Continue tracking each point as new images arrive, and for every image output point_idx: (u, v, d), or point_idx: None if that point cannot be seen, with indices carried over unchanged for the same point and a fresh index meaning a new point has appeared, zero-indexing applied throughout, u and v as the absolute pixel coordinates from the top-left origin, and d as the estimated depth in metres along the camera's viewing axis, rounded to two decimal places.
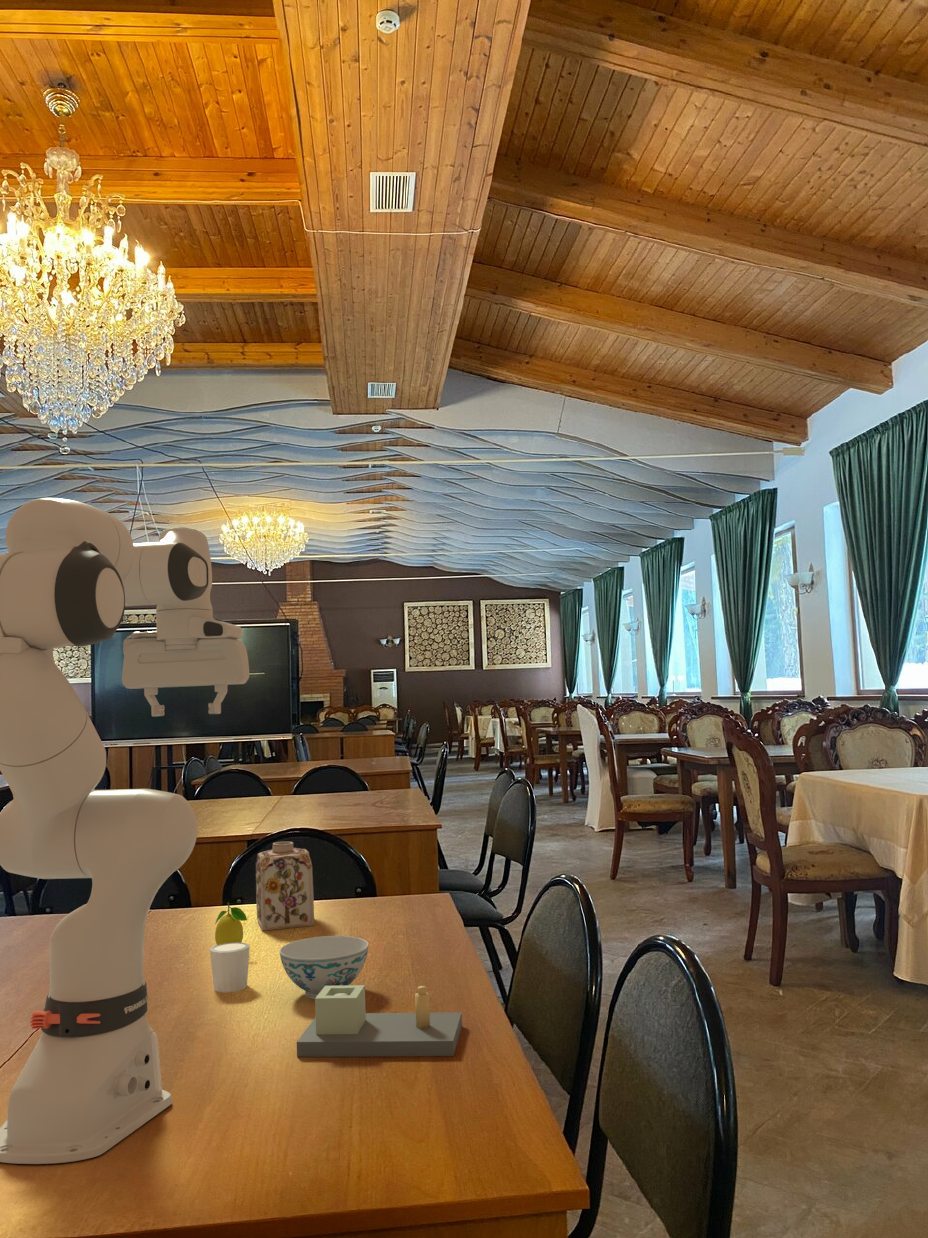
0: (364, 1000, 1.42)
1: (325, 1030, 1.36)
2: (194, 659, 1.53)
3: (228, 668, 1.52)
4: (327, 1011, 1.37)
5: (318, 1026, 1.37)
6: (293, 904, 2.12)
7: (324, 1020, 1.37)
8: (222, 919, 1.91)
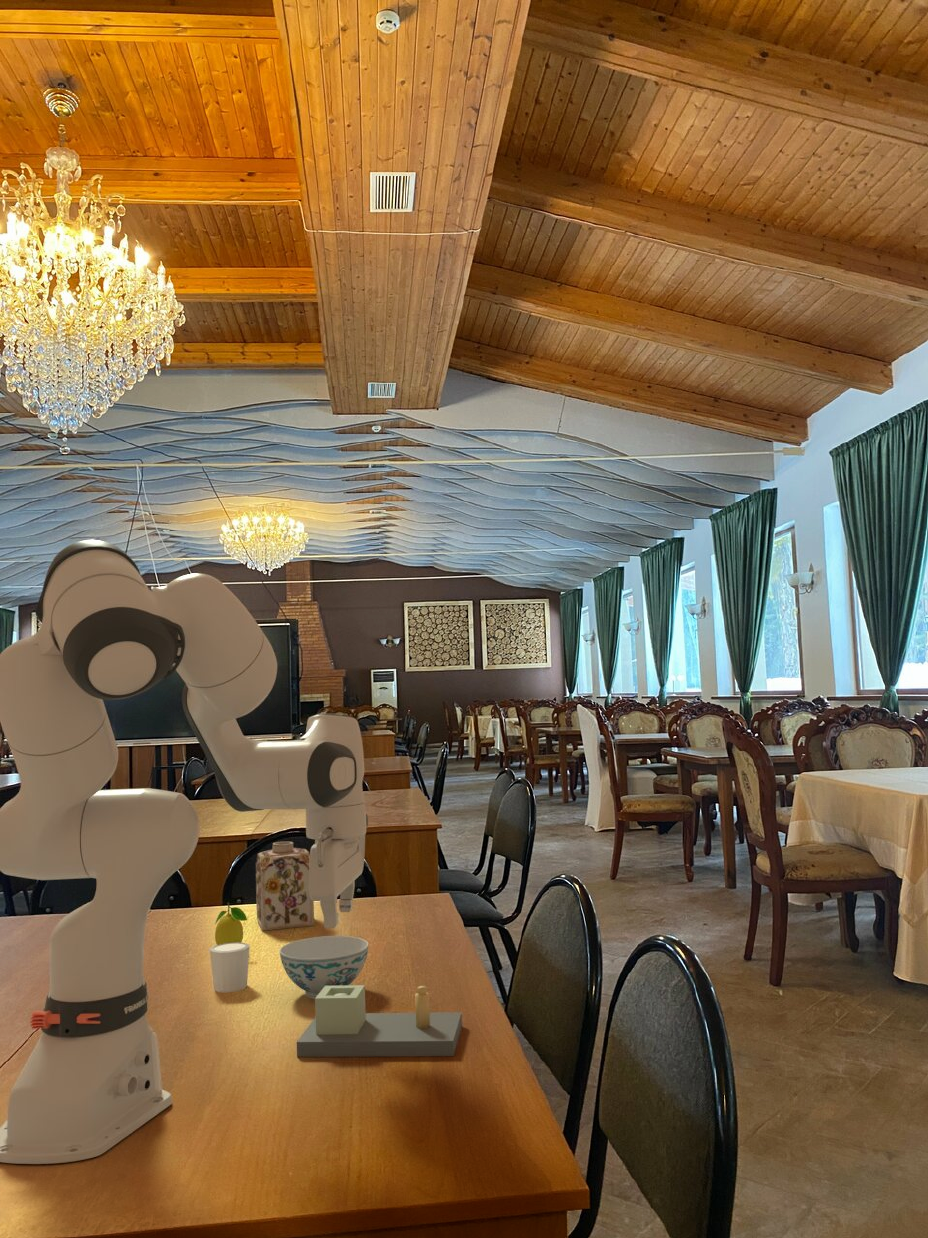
0: (364, 1000, 1.42)
1: (325, 1030, 1.36)
2: (350, 855, 1.43)
3: (360, 860, 1.49)
4: (327, 1011, 1.37)
5: (318, 1026, 1.37)
6: (293, 904, 2.12)
7: (324, 1020, 1.37)
8: (222, 919, 1.91)
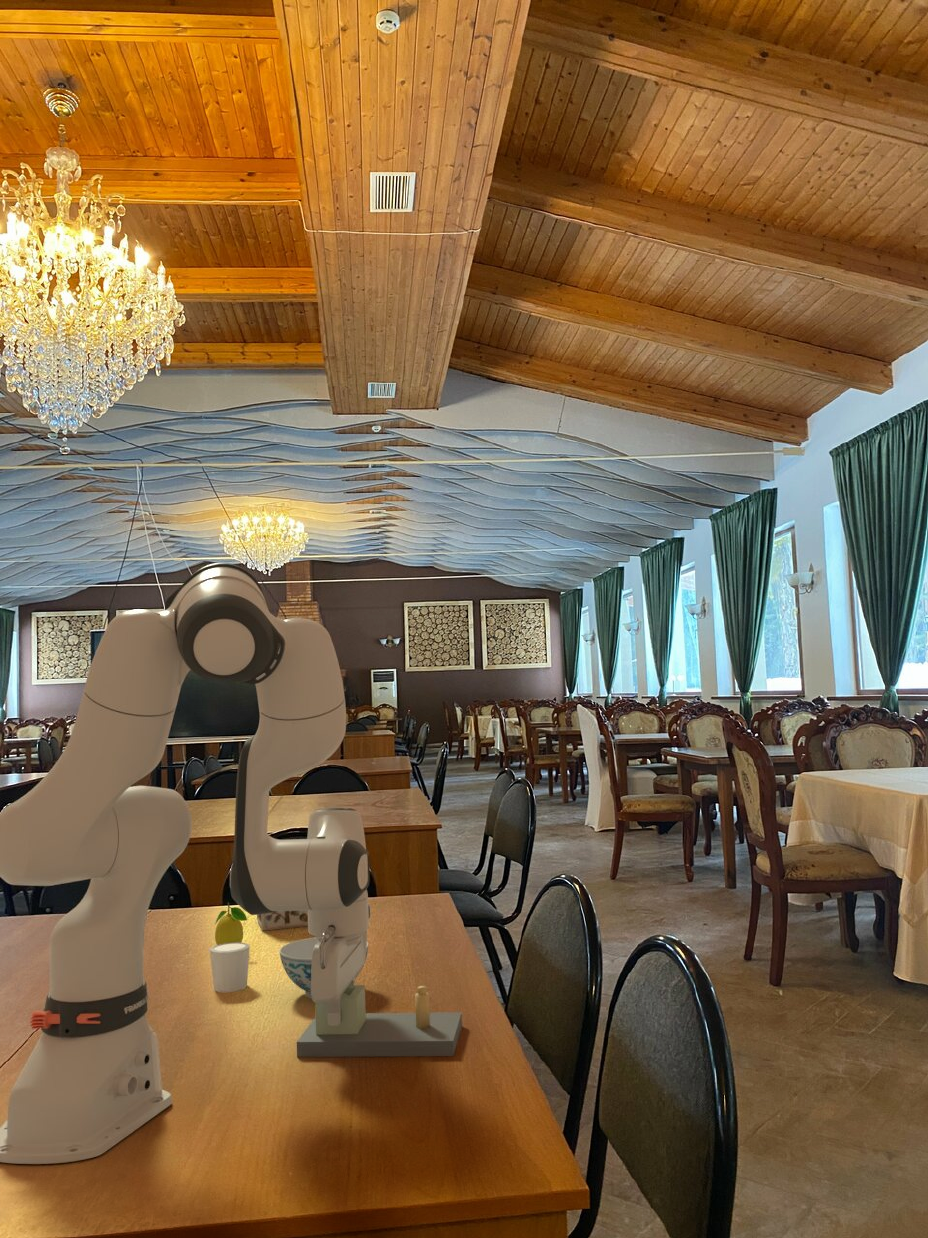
0: (364, 1000, 1.42)
1: (325, 1030, 1.36)
2: (352, 949, 1.42)
3: (362, 951, 1.47)
4: None
5: (318, 1026, 1.37)
6: None
7: (324, 1020, 1.37)
8: (222, 919, 1.91)
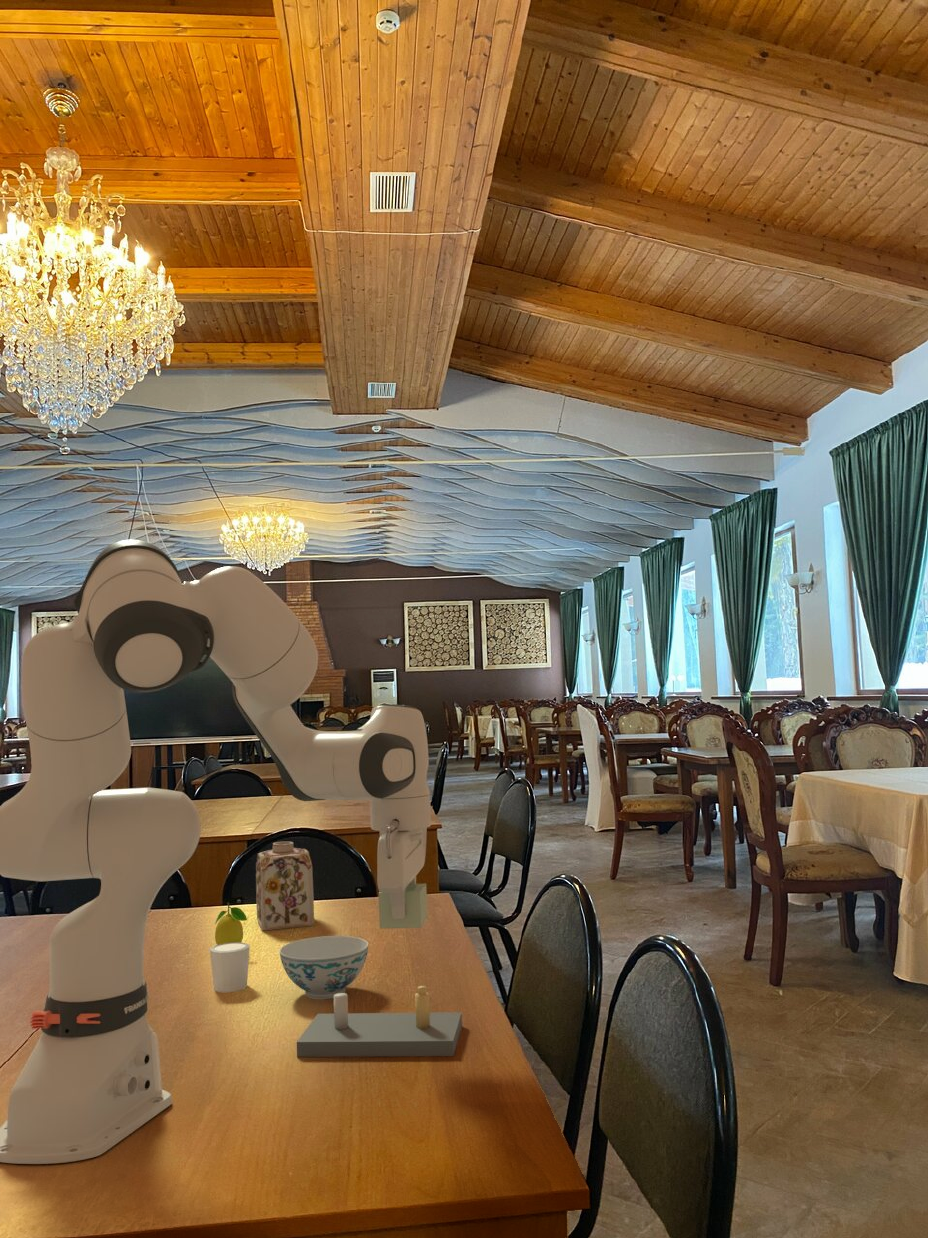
0: (426, 898, 1.41)
1: (389, 924, 1.36)
2: (414, 847, 1.42)
3: (422, 852, 1.47)
4: (391, 905, 1.36)
5: (382, 920, 1.36)
6: (293, 904, 2.12)
7: (388, 914, 1.36)
8: (222, 919, 1.91)
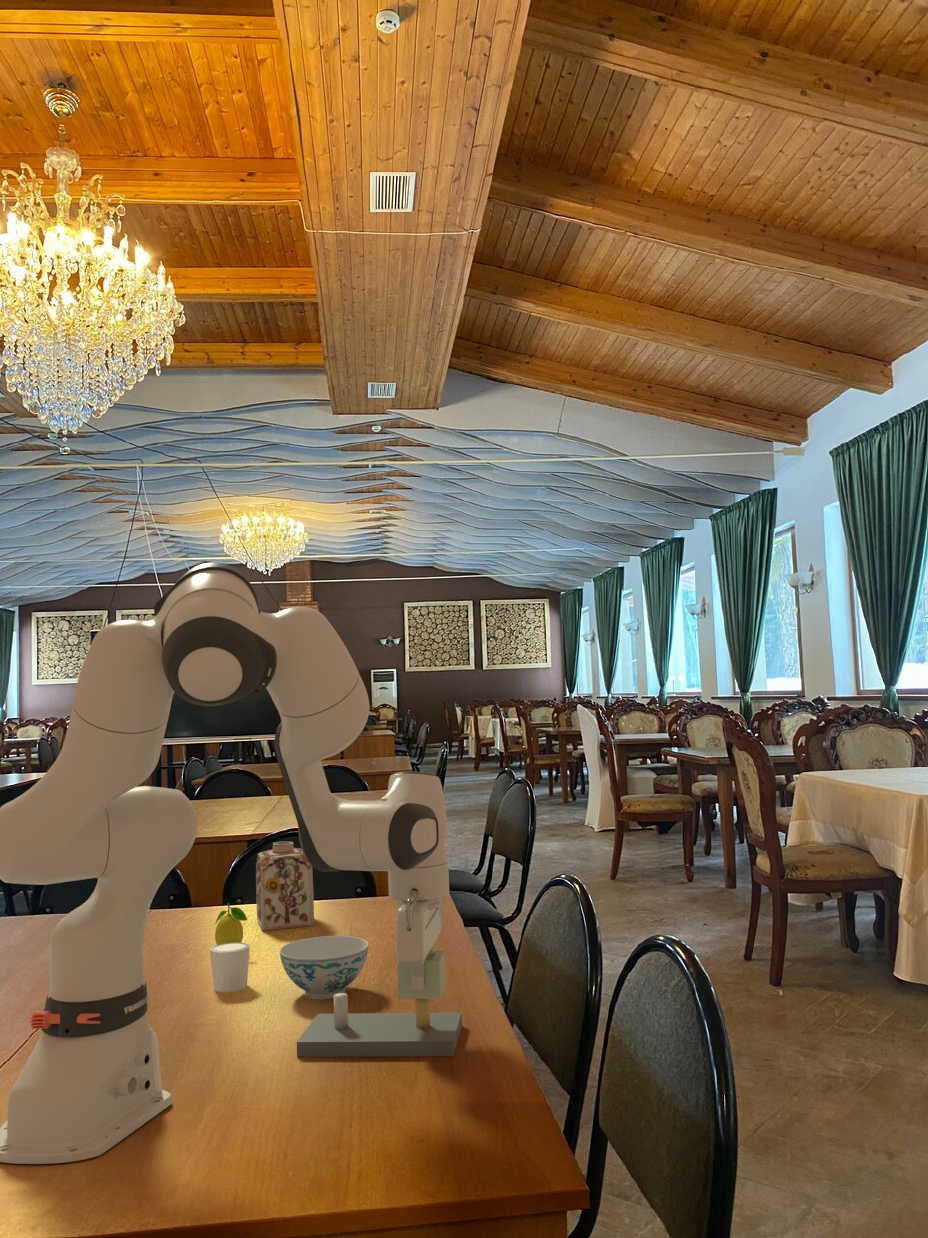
0: (444, 966, 1.41)
1: (408, 994, 1.35)
2: (432, 914, 1.41)
3: (439, 918, 1.46)
4: (409, 975, 1.36)
5: (400, 990, 1.36)
6: (293, 904, 2.12)
7: (407, 984, 1.36)
8: (222, 919, 1.91)
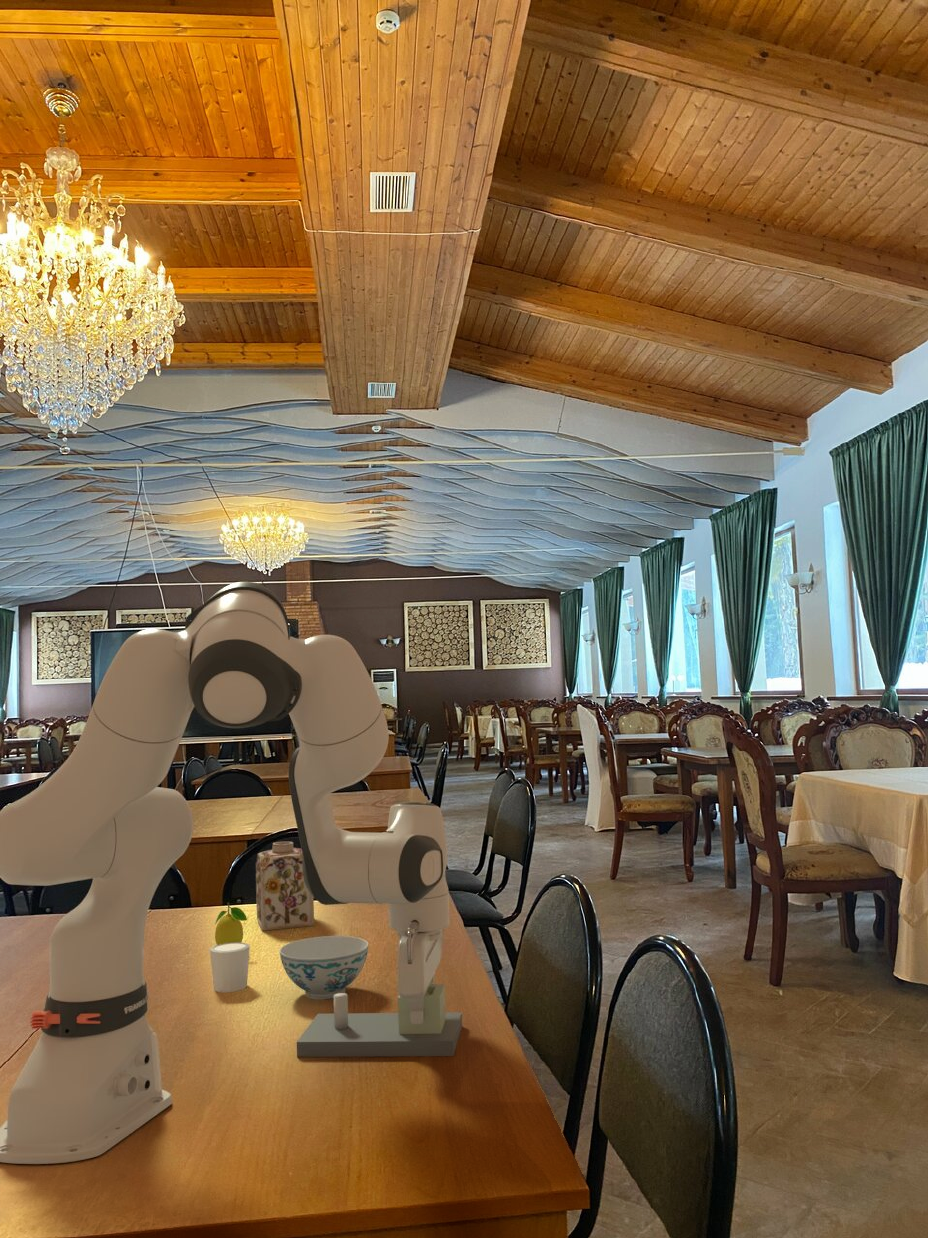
0: (444, 999, 1.41)
1: (408, 1029, 1.35)
2: (432, 945, 1.41)
3: (439, 947, 1.46)
4: None
5: (401, 1025, 1.35)
6: (293, 904, 2.12)
7: (407, 1019, 1.35)
8: (222, 919, 1.91)
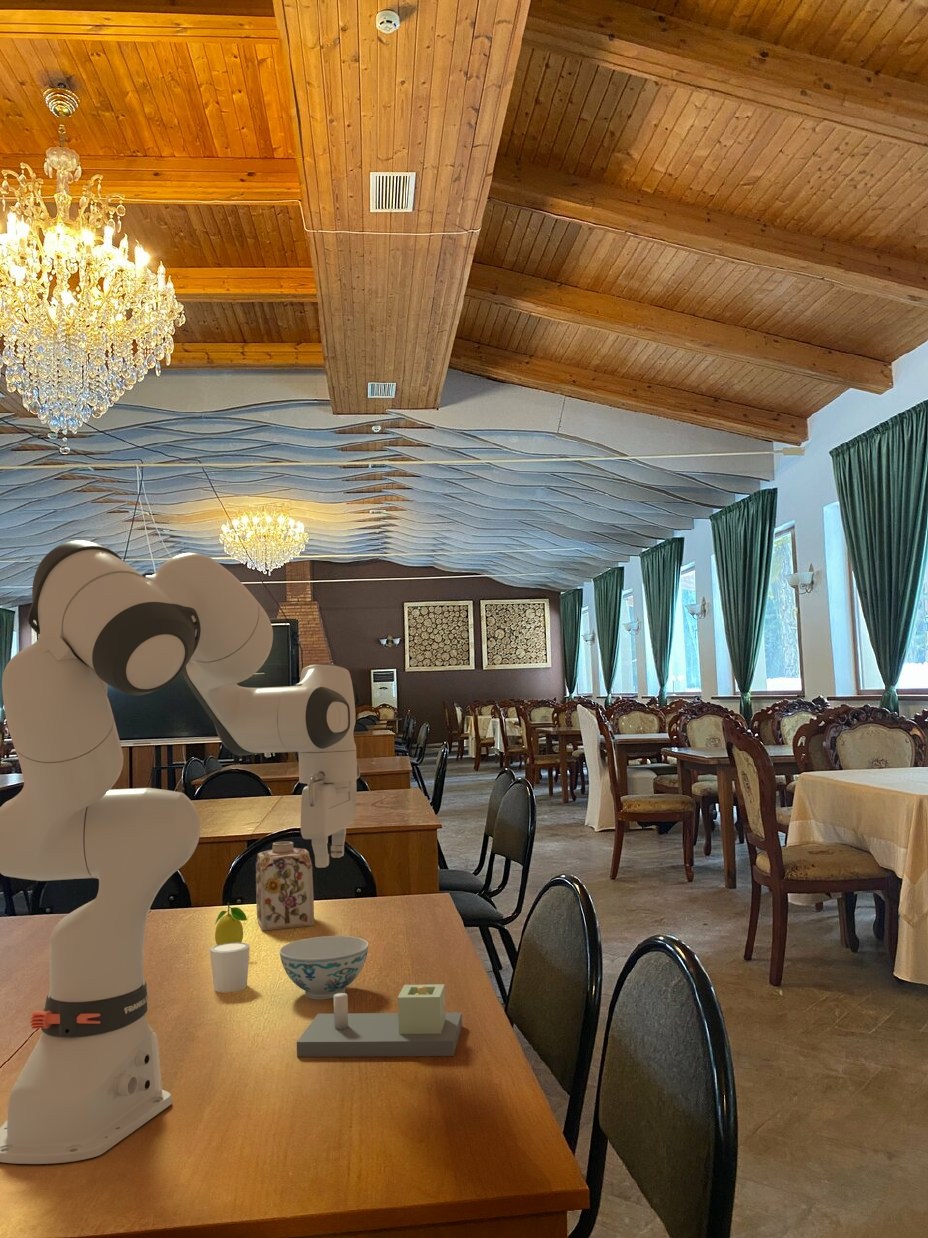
0: (444, 999, 1.41)
1: (408, 1029, 1.35)
2: (341, 801, 1.49)
3: (351, 809, 1.54)
4: (410, 1010, 1.35)
5: (401, 1025, 1.35)
6: (293, 904, 2.12)
7: (407, 1019, 1.35)
8: (222, 919, 1.91)
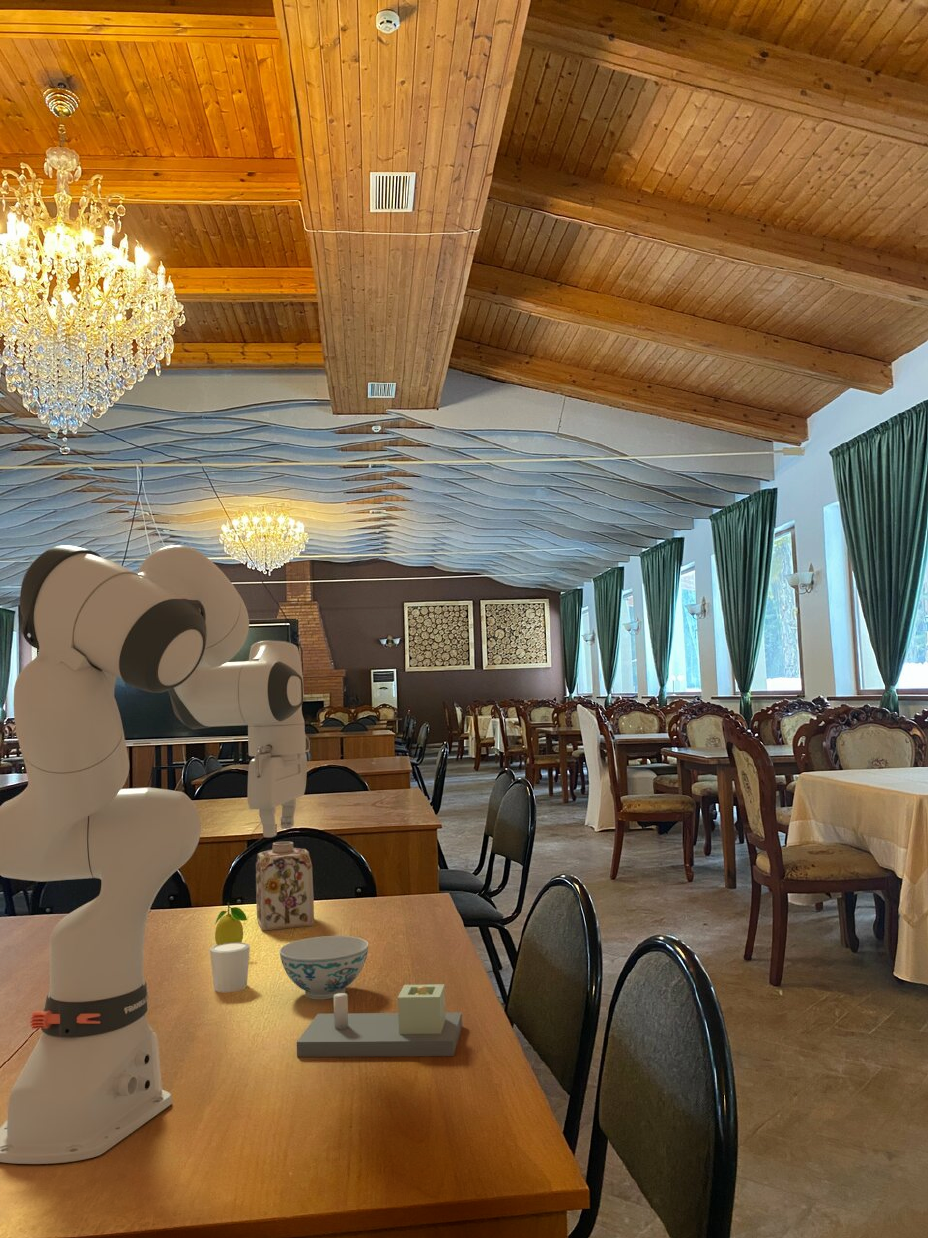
0: (444, 999, 1.41)
1: (408, 1029, 1.35)
2: (290, 774, 1.53)
3: (302, 782, 1.59)
4: (410, 1010, 1.35)
5: (401, 1025, 1.35)
6: (293, 904, 2.12)
7: (407, 1019, 1.35)
8: (222, 919, 1.91)
